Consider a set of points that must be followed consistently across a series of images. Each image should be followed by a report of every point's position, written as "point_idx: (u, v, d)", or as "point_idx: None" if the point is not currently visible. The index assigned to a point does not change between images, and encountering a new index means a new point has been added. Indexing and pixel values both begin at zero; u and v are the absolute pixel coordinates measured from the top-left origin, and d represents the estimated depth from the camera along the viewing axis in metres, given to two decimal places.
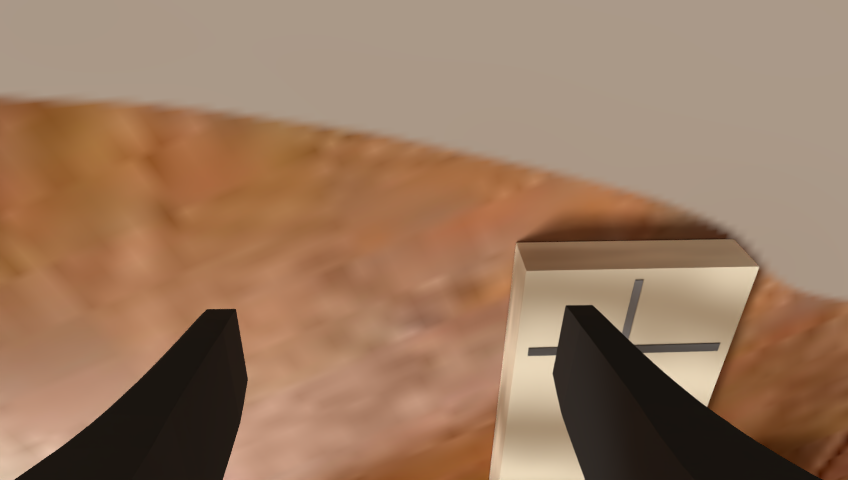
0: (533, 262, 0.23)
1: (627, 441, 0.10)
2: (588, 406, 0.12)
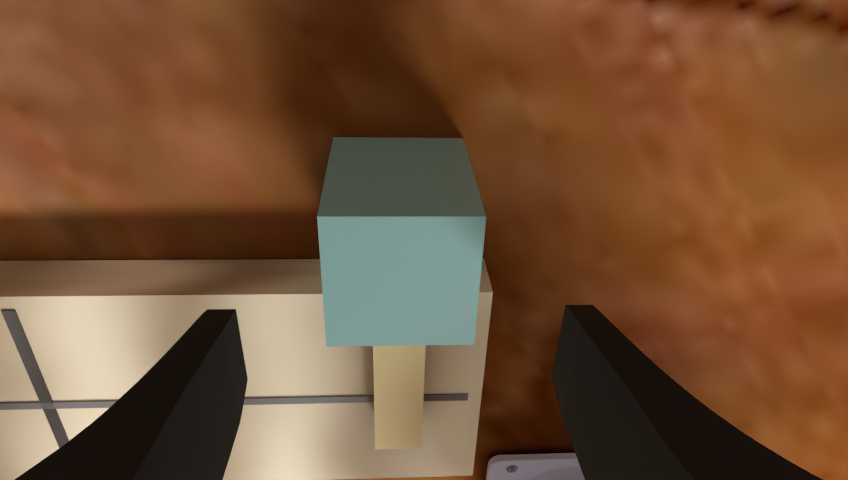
0: None
1: (627, 441, 0.10)
2: (588, 406, 0.12)
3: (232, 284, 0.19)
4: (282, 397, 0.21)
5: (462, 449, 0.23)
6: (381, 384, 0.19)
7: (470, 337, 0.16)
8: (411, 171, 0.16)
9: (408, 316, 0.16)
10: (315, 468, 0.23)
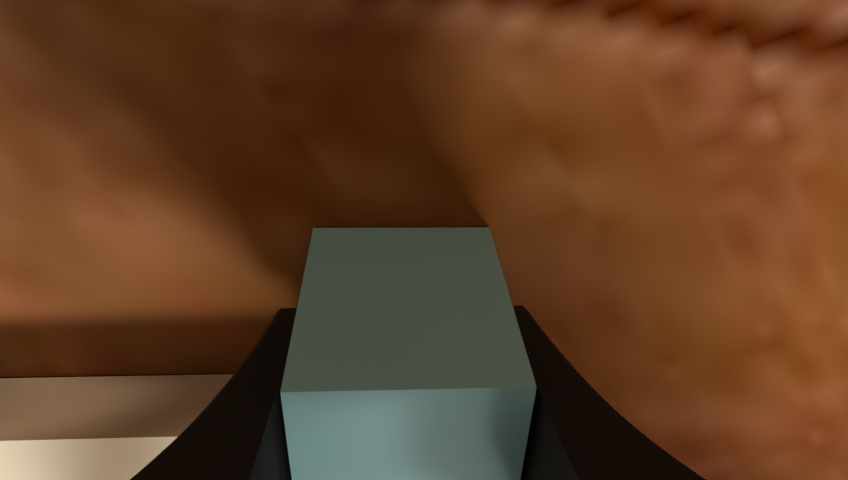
0: None
1: (538, 443, 0.10)
2: None
3: (180, 418, 0.14)
4: None
5: None
6: None
7: None
8: (421, 291, 0.12)
9: None
10: None
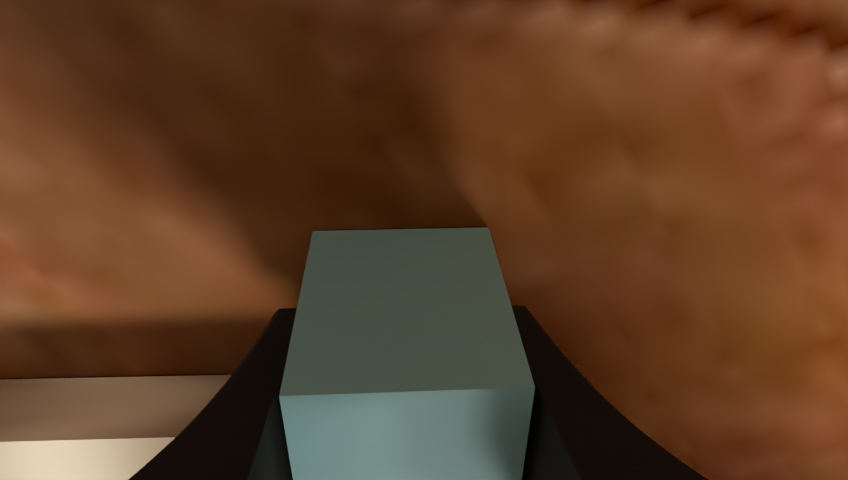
0: None
1: (540, 443, 0.10)
2: None
3: None
4: None
5: None
6: None
7: None
8: (420, 292, 0.12)
9: None
10: None
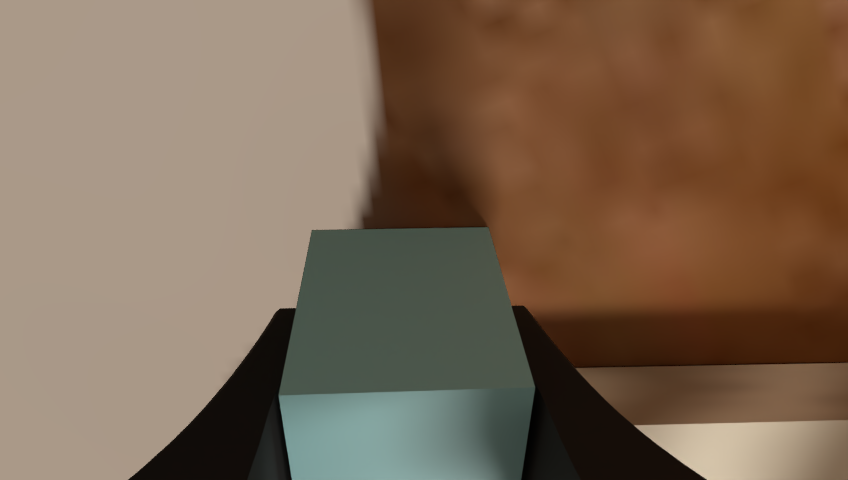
0: None
1: (539, 443, 0.10)
2: None
3: (668, 407, 0.15)
4: None
5: None
6: None
7: None
8: (419, 292, 0.12)
9: None
10: None
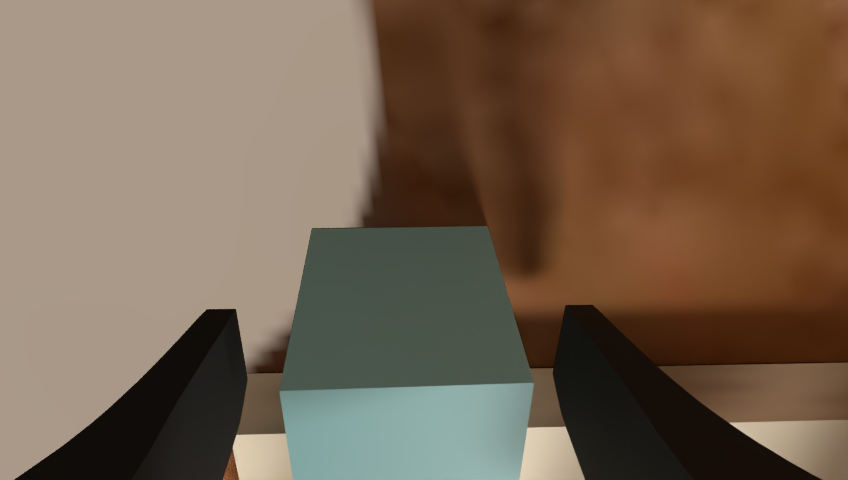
0: None
1: (627, 441, 0.10)
2: (588, 406, 0.12)
3: None
4: None
5: None
6: None
7: None
8: (419, 290, 0.12)
9: None
10: None
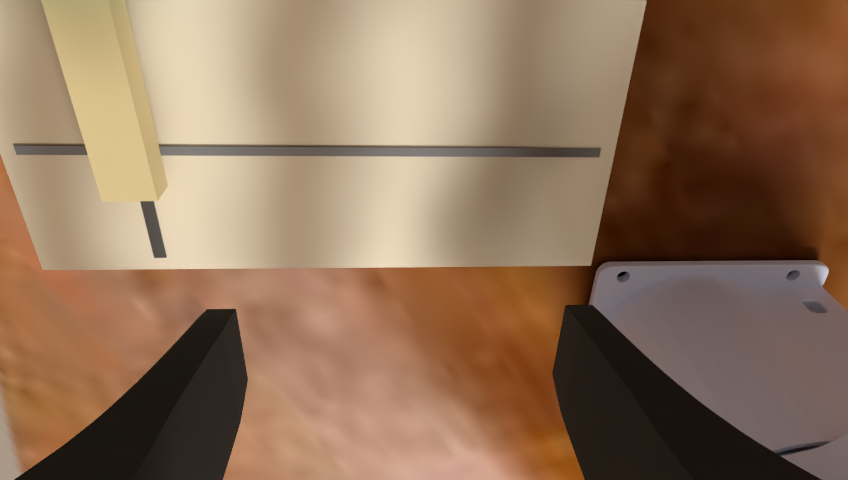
0: None
1: (627, 441, 0.10)
2: (588, 406, 0.12)
3: None
4: (395, 147, 0.19)
5: (584, 228, 0.21)
6: (81, 100, 0.16)
7: None
8: None
9: None
10: (421, 250, 0.21)
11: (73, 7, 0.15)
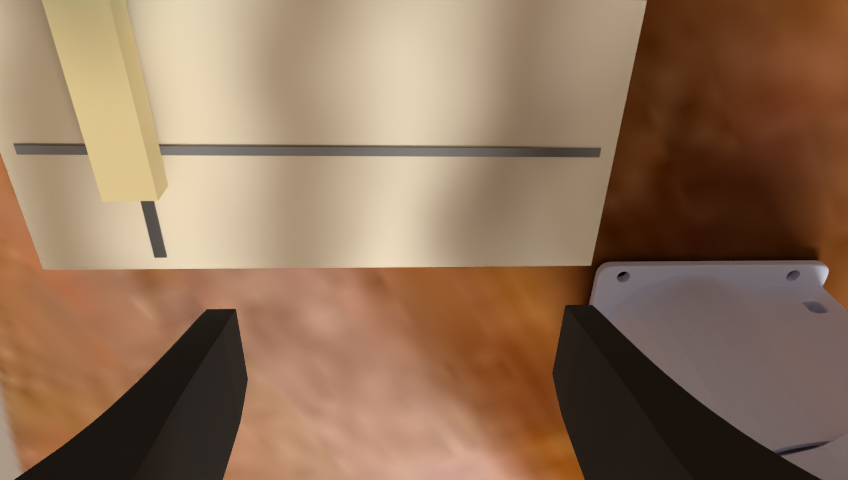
0: None
1: (627, 441, 0.10)
2: (588, 407, 0.12)
3: None
4: (395, 147, 0.19)
5: (584, 228, 0.21)
6: (81, 100, 0.16)
7: None
8: None
9: None
10: (421, 250, 0.21)
11: (74, 7, 0.15)
